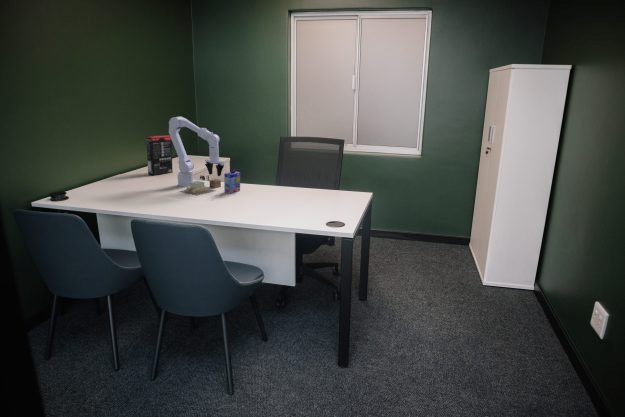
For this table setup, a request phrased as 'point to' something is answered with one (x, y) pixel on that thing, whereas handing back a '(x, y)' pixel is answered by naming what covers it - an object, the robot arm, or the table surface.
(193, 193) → the desk mat
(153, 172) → the graphics card box
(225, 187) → the ink cartridge box
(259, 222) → the table surface
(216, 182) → the walnut cube
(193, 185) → the sage block
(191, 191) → the oak slab
